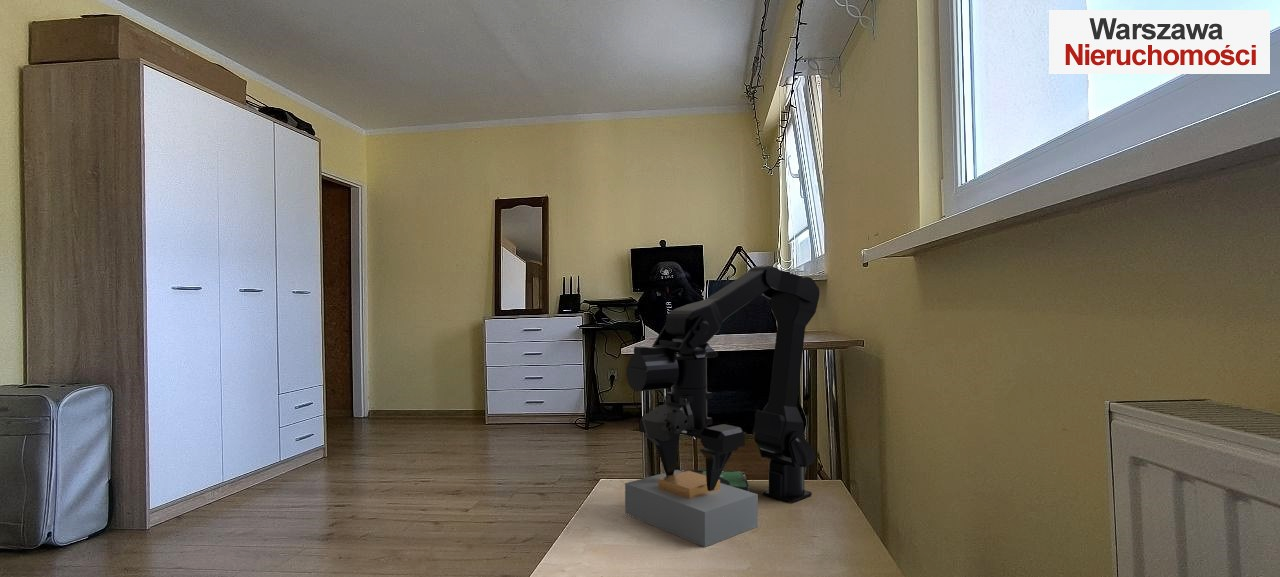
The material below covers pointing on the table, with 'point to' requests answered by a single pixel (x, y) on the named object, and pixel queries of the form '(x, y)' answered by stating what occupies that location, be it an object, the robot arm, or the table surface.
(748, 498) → the gray rectangular block
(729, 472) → the disk drive
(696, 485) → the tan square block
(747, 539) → the table surface
